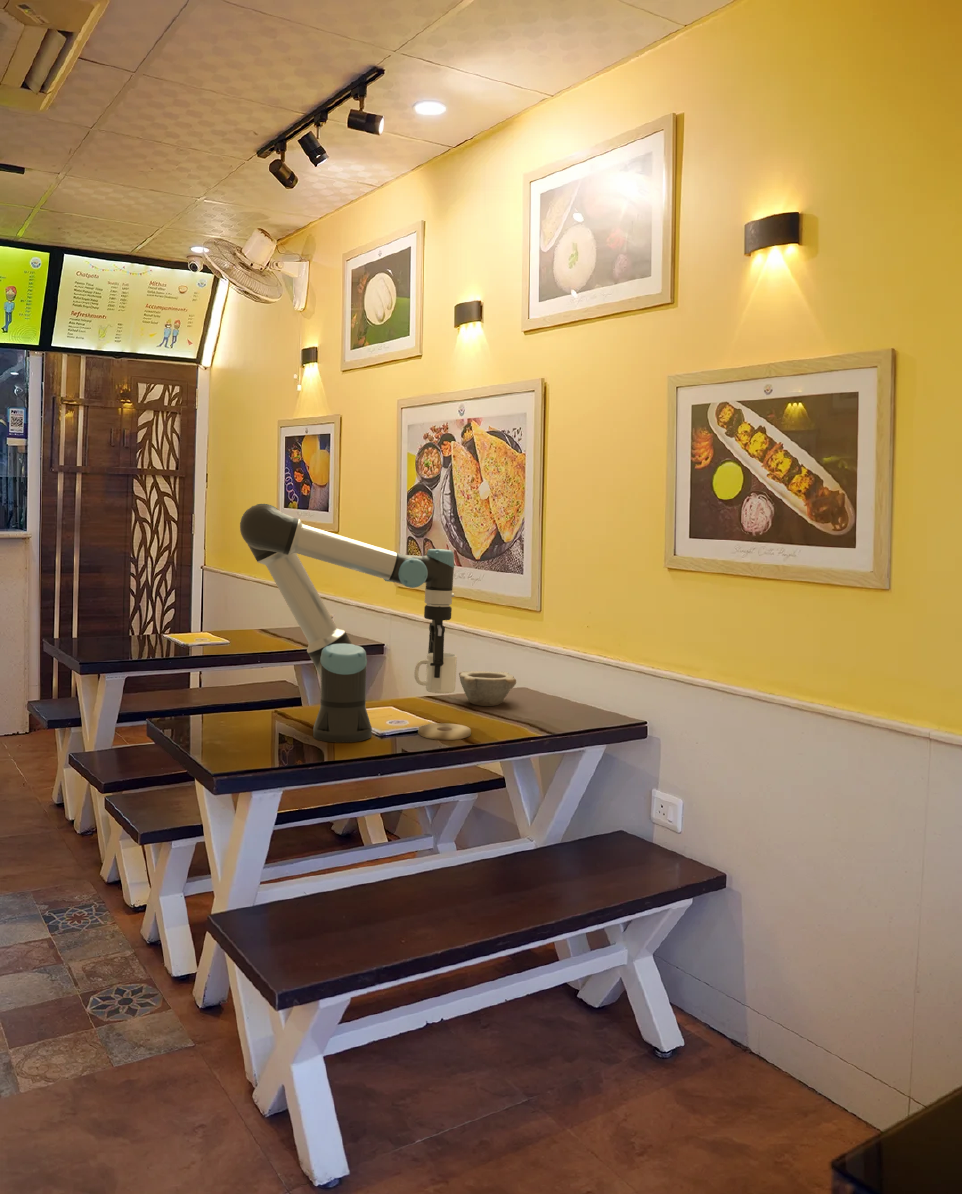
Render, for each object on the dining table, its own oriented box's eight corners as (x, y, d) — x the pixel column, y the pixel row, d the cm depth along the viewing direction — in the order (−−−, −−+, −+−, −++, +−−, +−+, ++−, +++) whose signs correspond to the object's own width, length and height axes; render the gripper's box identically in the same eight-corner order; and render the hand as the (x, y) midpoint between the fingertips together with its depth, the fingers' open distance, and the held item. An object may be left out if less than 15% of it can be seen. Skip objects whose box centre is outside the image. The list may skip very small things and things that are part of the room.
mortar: (509, 698, 318) (510, 669, 317) (516, 709, 302) (517, 679, 301) (456, 697, 317) (457, 669, 316) (461, 708, 300) (462, 678, 299)
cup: (459, 693, 277) (461, 657, 276) (418, 694, 272) (420, 657, 271) (448, 687, 284) (450, 652, 283) (408, 688, 280) (410, 653, 279)
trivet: (420, 740, 259) (421, 735, 259) (415, 727, 273) (415, 723, 273) (474, 739, 261) (474, 734, 261) (466, 727, 275) (466, 722, 275)
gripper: (456, 609, 267) (452, 693, 269) (446, 601, 287) (442, 679, 289) (428, 608, 266) (424, 693, 268) (420, 600, 286) (416, 679, 288)
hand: (434, 686), depth 278 cm, fingers closed on cup, 8 cm apart
